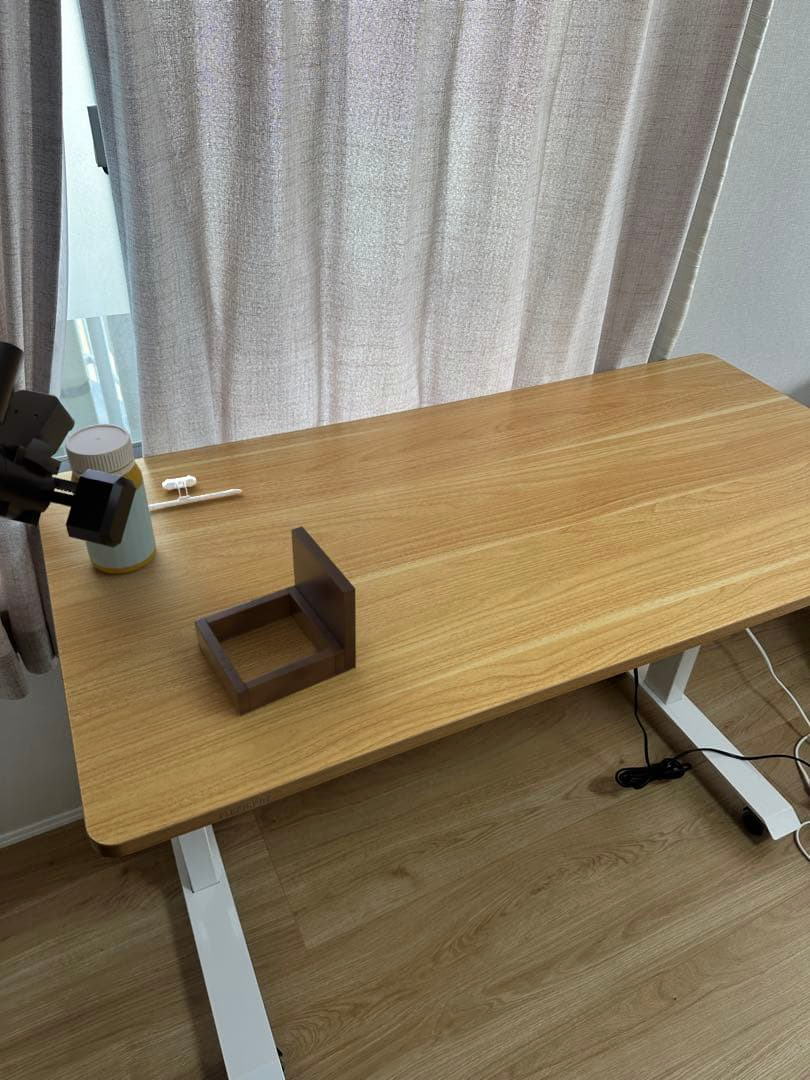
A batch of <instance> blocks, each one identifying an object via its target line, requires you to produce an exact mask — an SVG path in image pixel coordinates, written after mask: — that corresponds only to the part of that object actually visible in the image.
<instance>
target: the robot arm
mask: <svg viewBox="0 0 810 1080" xmlns="http://www.w3.org/2000/svg"><path fill="white" fill-rule="evenodd" d="M25 357H26V352H25V351H24V350H23V349H21V348H20V347H18V346H17V345H15V344H13V343H10V342H5V341H0V518H1V519H5V520H10V521H14V522H17V523H21V524H27V525H31V526H35V527H38V525H39V522H40V519H41V515H42V514H43V513H45V512H46V511H47V509H49V507H50V505H51V504H56V505H60V506H65V507H68V508H70V509H69V512H68V516H67V519H66V522H65V527H66V532H67V536H68V538H73V539H76V540H80V541H83V542H85V541H87V542H91V543H96V544H100V545H104V546H108V547H112V548H114V547H116V546H117V545H119V544H120V543H121V541H122V537H123V534H124V530H125V527H126V523H127V520H128V516H129V513H130V509H131V506H132V503H133V499H134V496H135V492H136V489H137V488H136V486H135V484H134V482H133V481H132V480H129V479H127V478H125V477H123V476H119V475H114V474H110V473H105V472H101V471H96V470H91V469H88V470H87V471H86V472H85V473H83V474H82V475H81V476H80V478H79V481H78V482H74V481H71V480H70V479H64V478H61V477H57V475H59V471H60V468H61V466H62V461H61V460H59V459H56V458H53V456H54V455H55V454H57V452H58V451H59V449H60V447H61V446H62V444H63V442H65V440H66V438H67V437H68V434H69V432H72V431H73V429H74V427H75V423H76V422H75V418H74V417H73V416H72V415H71V413H70V412H69V411H68V409H67V408H66V406H64V404H63V402H61V400H60V398H59V397H58V396H57V395H55V394H49V393H46V392H39V391H34V390H30V389H19V390H16V387H17V384H18V381H19V378H20V374H21V370H22V367H23V364H24V361H25ZM15 390H16V391H15ZM56 490H57V491H56ZM60 491H61V492H60ZM63 491H64V492H63ZM67 492H68V493H67ZM70 493H72V494H70ZM73 493H75V495H73Z"/></svg>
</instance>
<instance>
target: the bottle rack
mask: <svg viewBox="0 0 810 1080" xmlns="http://www.w3.org/2000/svg"><path fill="white" fill-rule="evenodd" d="M290 531H291V532H290V533H291V549H292V561H293V575H294V576H293V578H294V584H293V585H291V586H288V587H286V588H282V589H280V590H277V591H274V592H270V593H267V594H266V595H263V596H260V597H257V598H255V599H252V600H249V601H246V602H243V603H239V604H238V605H235V606H232V607H229V608H226V609H224V610H223V609H222V610H221V611H218V612H215V613H213V614H209V615H207V616H205V617H201V618H199V619H195V620H194V621H193V623H194V629H195V635H196V640H197V641H196V642H197V644H198V646H199V648H200V649H201V651H202V653H203V655H204V656H205V658H206V660H207V661H208V663H209V665H210V667H211V668H212V670H213V673H214V674H215V676H216V677H217V679H218V680H219V682H220V684H221V685H222V687H223V689H224V692H225V693H226V694H227V696H228V698H229V700H230V701H231V703H232V705H233V706H234V708H235V710H236V712H237V713H238V715H239V716H240V717H242V716H244V715H246V714H249V713H251V712H254V711H256V710H258V709H261V708H262V707H265V706H268V705H271V704H273V703H275V702H277V701H280V700H282V699H284V698H287V697H289V696H291V695H294V694H296V693H299V692H301V691H303V690H306V689H308V688H310V687H313V686H315V685H318V684H320V683H323V682H324V681H327V680H329V679H332V678H334V677H336V676H339V675H342V674H344V673H346V672H348V671H351V670H353V669H355V668H357V639H356V638H357V637H356V636H357V635H356V634H357V633H356V632H357V631H356V630H357V628H356V627H357V625H356V624H357V621H356V619H357V618H356V612H357V611H356V587H355V586H354V585H353V584H352V583H351V582H350V580H349V579H348V578H347V577H346V575H344V573H343V572H342V571H341V570H340V569H339V567H338V565H336V564H335V562H333V560H332V559H331V558H330V557H329V556H328V555H327V553H326V552H325V551H324V550H323V549H322V547H320V545H319V544H318V542H317V541H315V539H314V538H313V537H312V536H311V535H310V534H309V532H308V531H307V530H306V528H304V526H302V525H301V526H298V527H295V528H292V529H291V530H290ZM290 616H291V617H292V618H293V619H294V621H295V623H297V625H298V626H299V627H300V629H301V631H302V632H303V633H304V634H305V636H306V637H307V638H308V640H309V641H310V643H311V644H312V645H313V647H314V648H315V649H316V651H317V652H315V653H312V654H309V655H307V656H305V657H303V658H300V659H297V660H295V661H293V662H290V663H288V664H285V665H283V666H280V667H278V668H275V669H273V670H271V671H267V672H265V673H264V674H261V675H258V676H256V677H253V678H250V679H247V680H246V681H243V679H242V678H241V676H240V674H239V673H238V671H237V669H236V668H235V667H234V664H233V663H232V661H231V659H230V658H229V657H228V655H227V653H226V652H225V650H224V648H223V647H222V645H221V642H224V641H226V640H230V639H232V638H235V637H237V636H241V635H242V634H245V633H248V632H251V631H253V630H256V629H259V628H261V627H264V626H267V625H269V624H272V623H275V622H277V621H280V620H283V619H286V618H288V617H290Z"/></svg>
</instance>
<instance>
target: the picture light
mask: <svg viewBox="0 0 810 1080" xmlns="http://www.w3.org/2000/svg"><path fill="white" fill-rule="evenodd" d="M196 484H197V479H196V477H195V476H192V475H189V474H188V475H187V476H183V477H178V478H172V479H171V478H167V479H166V480H165V481H163V482H162V483H161V485H162V488H163V490H167V491H172V490H177V489H178V493H179V494H178V495H179V497H178V498H177V499H174V500H168V501H163V502H157V503H152V504H148V506H149V511H153V510H160V509H165V508H171V507H175V506H180V505H181V506H182V505H186V504H192V503H196V502H197V503H198V502H202V501H208V500H213V499H218V498H223V497H224V498H225V497H230V496H235V495H238V494H240V493H241V492H243V489H239V488H235V489H233V488H232V489H228V490H222V491H217V492H213V493H212V492H211V493H207V494H200V495H196V496H191V495H189V493H188V488H187V487H190V488H191V487H193V486H194V485H196ZM183 488H184V489H185V492H186V495H184V496H182V495H181V490H180V489H183Z"/></svg>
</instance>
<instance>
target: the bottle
mask: <svg viewBox="0 0 810 1080" xmlns="http://www.w3.org/2000/svg"><path fill="white" fill-rule="evenodd" d="M131 438H132V437H131V435H130V433H129V430H127V429H126V428H125V427H123V426H122V425H119V424H118V425H117V424H113V423H96V424H91V425H86V426H83V427H80V428H78V429H76V430H74V431H73V432H72V431H71V432H70V434H69V435H67V436H66V437H65V440H64V448H65V452H66V455H67V459H68V464H69V467H70V469H71V476H70V481H74V482H78V481H79V478H80V476H81V475H82V474H83V473H85V472H86V471H87V470H88V469H91V470H96V471H101V472H105V473H110V474H114V475H119V476H123V477H125V478H127V479H129V480H132V481H133V482H134V484H135V486H136V488H137V489H136V492H135V496H134V499H133V503H132V506H131V509H130V513H129V516H128V520H127V523H126V527H125V530H124V534H123V537H122V541H121V543H120V544H119V545H117V546H116V547H114V548H112V547H108V546H104V545H100V544H96V543H91V542H87V541H84V542H85V546H86V550H87V554H88V557H89V561H90V563H91V564H92V566H93V567H95V568H96V569H98V570H99V571H102V572H104V573H107V574H110V575H126V574H131V573H134V572H138V571H139V570H141V569H143V568H145V567H146V566H147V565H148V564H149V563H150V562H151V561H152V559H154V557H155V555H156V553H157V544H156V537H155V532H154V527H153V521H152V517H151V510H149V506H148V505H149V502H148V497H147V492H146V487H145V481H144V477H143V473H142V470H141V468H140V467H139V465H138V464H137V462H136V459H135V455H134V448H133V443H132V439H131ZM72 495H75V493H72Z"/></svg>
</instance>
